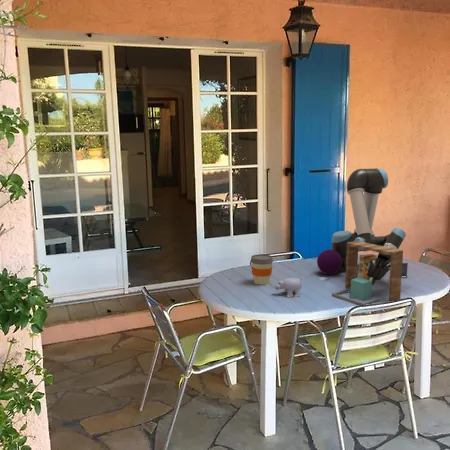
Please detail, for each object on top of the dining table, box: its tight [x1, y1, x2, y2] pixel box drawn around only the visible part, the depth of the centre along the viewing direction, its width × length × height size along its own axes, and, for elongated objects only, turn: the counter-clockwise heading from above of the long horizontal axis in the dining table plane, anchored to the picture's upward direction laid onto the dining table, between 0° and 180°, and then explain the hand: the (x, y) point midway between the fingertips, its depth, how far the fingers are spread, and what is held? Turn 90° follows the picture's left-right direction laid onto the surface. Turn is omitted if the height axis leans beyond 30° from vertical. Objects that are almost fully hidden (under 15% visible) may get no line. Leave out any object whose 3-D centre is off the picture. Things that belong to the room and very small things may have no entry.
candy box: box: [358, 253, 378, 279], centre depth 282 cm, size 9×4×15 cm, turn 107°
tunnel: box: [344, 241, 404, 302], centre depth 260 cm, size 29×8×26 cm, turn 37°
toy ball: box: [316, 248, 342, 275], centre depth 296 cm, size 15×15×15 cm
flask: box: [402, 261, 409, 277], centre depth 289 cm, size 9×3×11 cm, turn 88°
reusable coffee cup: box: [250, 253, 274, 286], centre depth 281 cm, size 12×13×15 cm
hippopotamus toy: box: [274, 275, 304, 298], centre depth 261 cm, size 11×15×10 cm
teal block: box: [349, 276, 373, 301], centre depth 256 cm, size 8×7×9 cm
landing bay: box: [331, 288, 381, 306], centre depth 254 cm, size 20×13×1 cm, turn 37°
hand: (366, 288), depth 258 cm, fingers closed
